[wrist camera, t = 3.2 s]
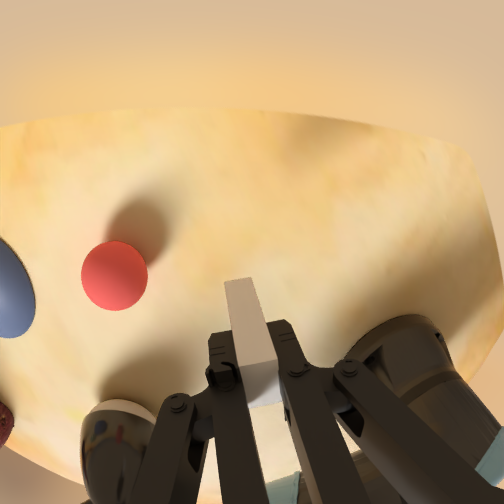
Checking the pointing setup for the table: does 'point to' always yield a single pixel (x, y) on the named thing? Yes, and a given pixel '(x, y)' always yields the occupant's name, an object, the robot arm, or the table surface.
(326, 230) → the table surface
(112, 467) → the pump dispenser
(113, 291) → the ball
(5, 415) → the vegetable
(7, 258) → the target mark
